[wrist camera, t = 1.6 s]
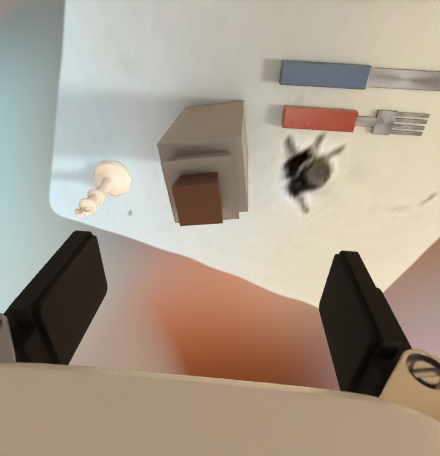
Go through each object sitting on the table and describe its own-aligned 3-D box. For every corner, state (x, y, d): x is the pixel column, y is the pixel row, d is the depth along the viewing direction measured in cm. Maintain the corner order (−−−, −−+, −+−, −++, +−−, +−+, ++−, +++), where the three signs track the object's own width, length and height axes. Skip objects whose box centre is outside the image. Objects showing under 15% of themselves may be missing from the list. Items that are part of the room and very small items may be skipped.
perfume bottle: (195, 162, 39) (163, 245, 24) (185, 107, 35) (140, 165, 20) (247, 157, 38) (248, 241, 23) (243, 100, 34) (240, 156, 20)
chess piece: (92, 159, 40) (51, 194, 32) (128, 161, 40) (97, 197, 31) (99, 192, 43) (63, 232, 34) (133, 195, 42) (105, 236, 34)
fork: (285, 103, 34) (286, 105, 34) (429, 112, 34) (433, 115, 33) (281, 127, 36) (282, 129, 35) (419, 136, 35) (423, 138, 34)
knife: (282, 60, 32) (283, 61, 31) (447, 69, 31) (452, 70, 30) (279, 83, 33) (280, 84, 32) (437, 92, 33) (442, 94, 32)
